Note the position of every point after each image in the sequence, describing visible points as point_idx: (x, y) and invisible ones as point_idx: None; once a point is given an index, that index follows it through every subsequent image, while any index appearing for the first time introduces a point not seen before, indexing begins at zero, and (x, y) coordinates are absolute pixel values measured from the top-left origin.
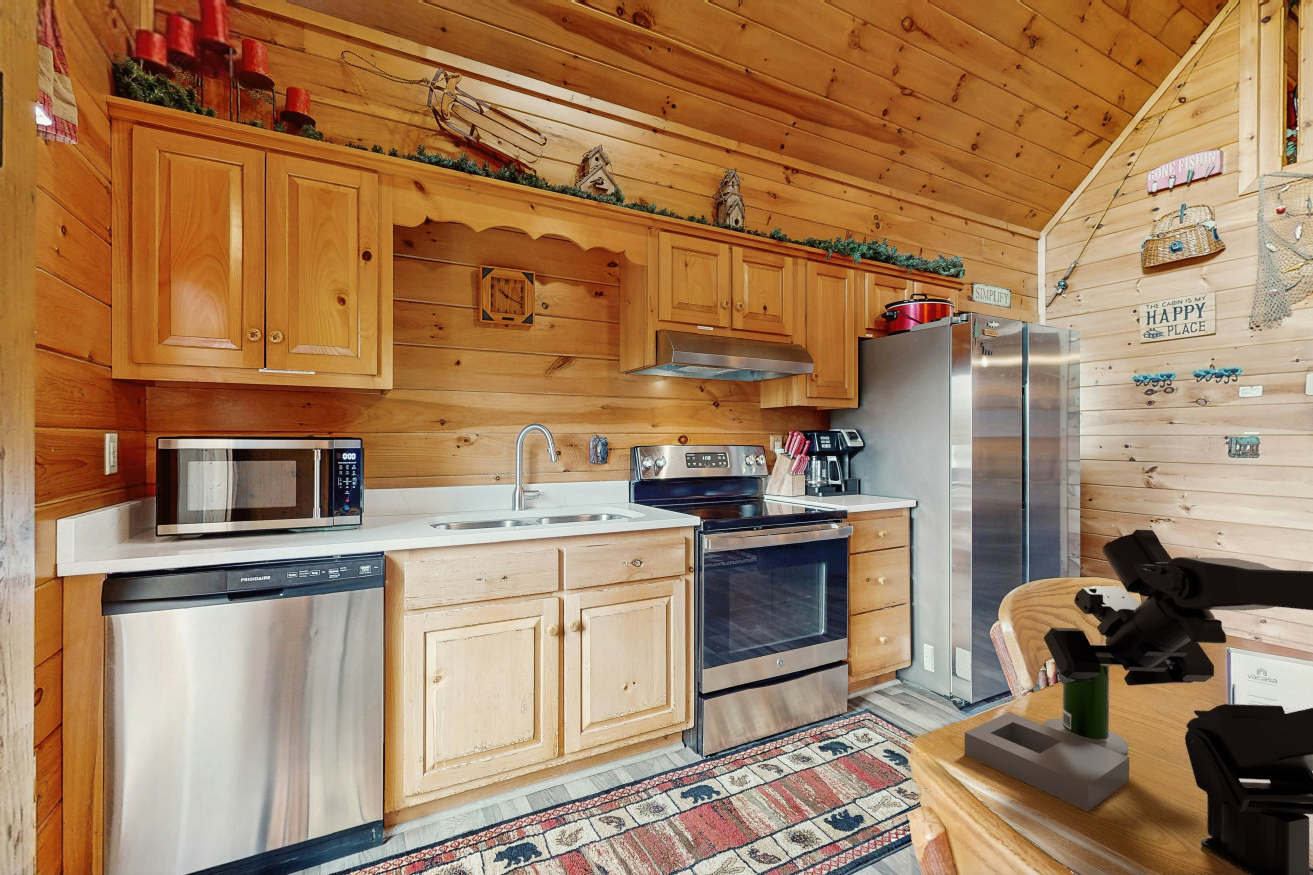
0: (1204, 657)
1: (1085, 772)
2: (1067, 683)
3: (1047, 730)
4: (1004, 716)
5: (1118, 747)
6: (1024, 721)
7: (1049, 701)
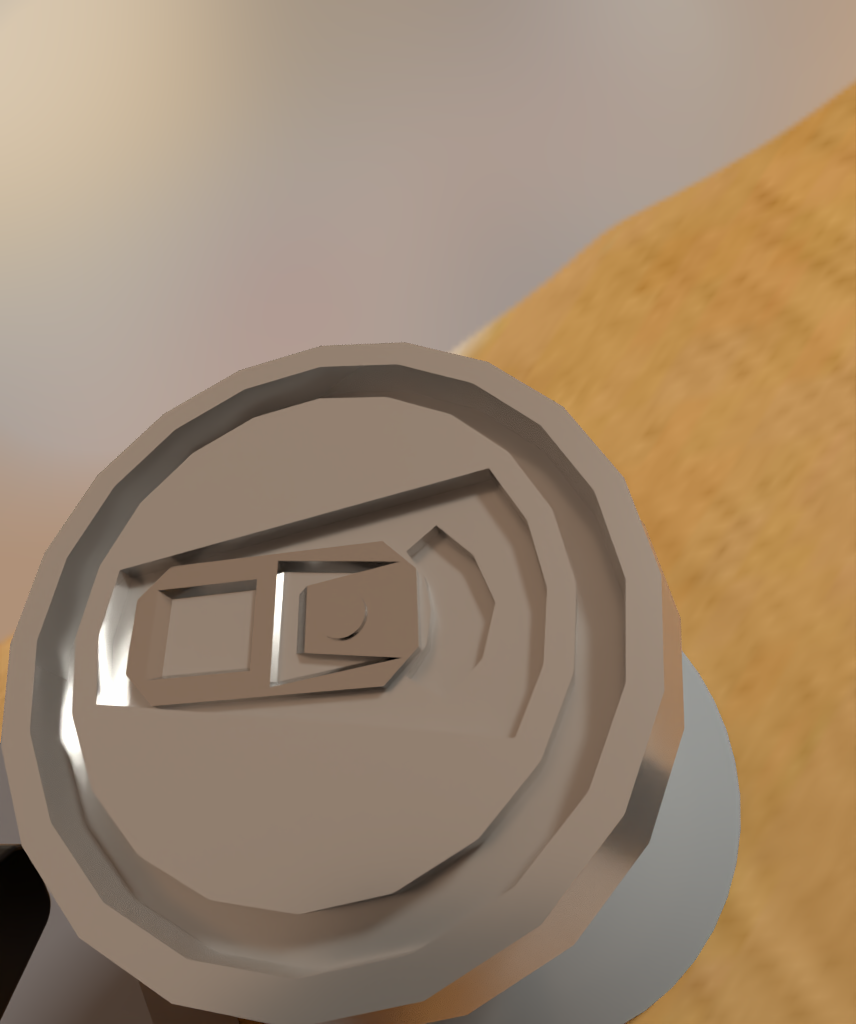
0: None
1: None
2: (1, 997)
3: (69, 1006)
4: None
5: (621, 960)
6: None
7: (585, 332)
